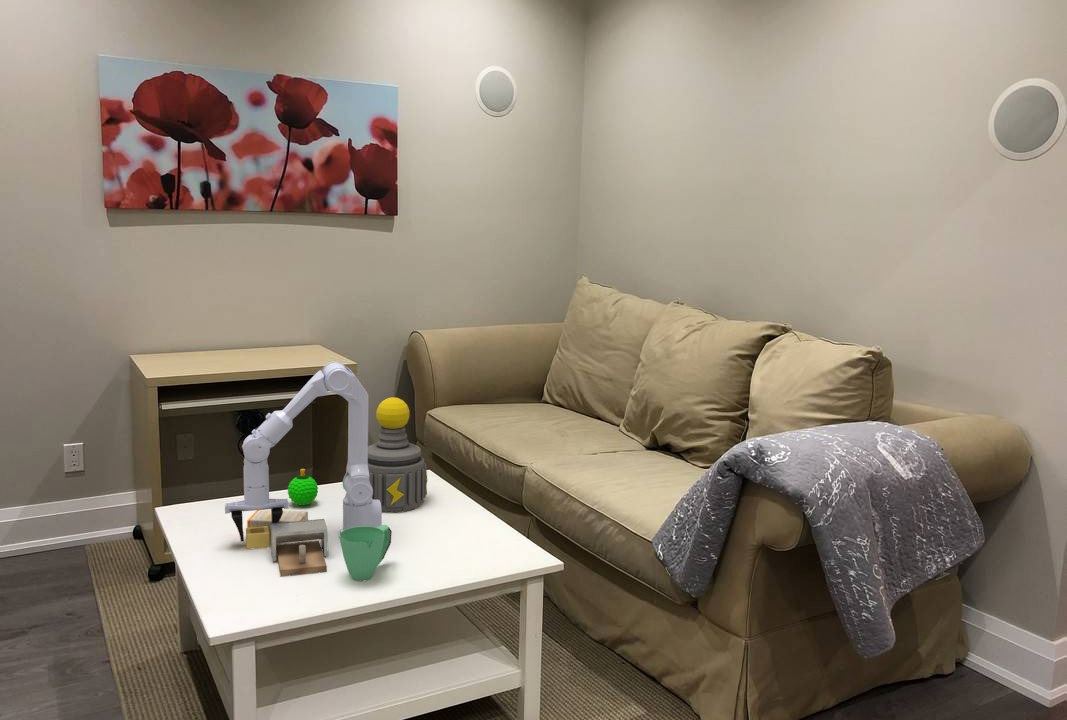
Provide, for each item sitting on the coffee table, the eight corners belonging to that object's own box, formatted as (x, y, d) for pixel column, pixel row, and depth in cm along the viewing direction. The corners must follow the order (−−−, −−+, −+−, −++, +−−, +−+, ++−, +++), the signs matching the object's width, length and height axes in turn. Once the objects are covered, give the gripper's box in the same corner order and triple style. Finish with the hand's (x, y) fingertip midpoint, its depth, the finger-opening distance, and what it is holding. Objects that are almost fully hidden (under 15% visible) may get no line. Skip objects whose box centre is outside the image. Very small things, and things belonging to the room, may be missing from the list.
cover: (324, 545, 214) (324, 518, 213) (327, 556, 208) (327, 528, 207) (271, 550, 210) (270, 523, 209) (272, 561, 204) (272, 533, 203)
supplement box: (246, 538, 218) (300, 540, 218) (246, 519, 217) (299, 521, 217) (257, 526, 226) (308, 528, 226) (257, 508, 225) (308, 510, 225)
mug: (366, 589, 191) (366, 545, 190) (330, 579, 196) (330, 536, 194) (405, 566, 204) (406, 524, 202) (371, 557, 208) (371, 517, 207)
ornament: (292, 499, 248) (291, 465, 246) (321, 500, 248) (321, 465, 246) (284, 509, 240) (283, 473, 238) (314, 510, 240) (313, 474, 238)
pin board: (319, 546, 214) (318, 524, 214) (326, 571, 200) (326, 548, 199) (276, 550, 211) (275, 528, 210) (280, 576, 196) (280, 553, 195)
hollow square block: (268, 539, 218) (268, 525, 217) (269, 547, 213) (269, 533, 212) (246, 541, 216) (245, 527, 215) (246, 549, 211) (246, 535, 211)
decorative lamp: (360, 515, 237) (360, 405, 232) (356, 493, 255) (356, 391, 250) (430, 511, 241) (431, 404, 237) (421, 490, 259) (423, 390, 255)
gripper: (286, 477, 218) (287, 530, 220) (224, 481, 213) (225, 535, 216) (288, 486, 212) (289, 540, 214) (224, 490, 207) (225, 546, 209)
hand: (257, 538), depth 214 cm, fingers open, 6 cm apart
